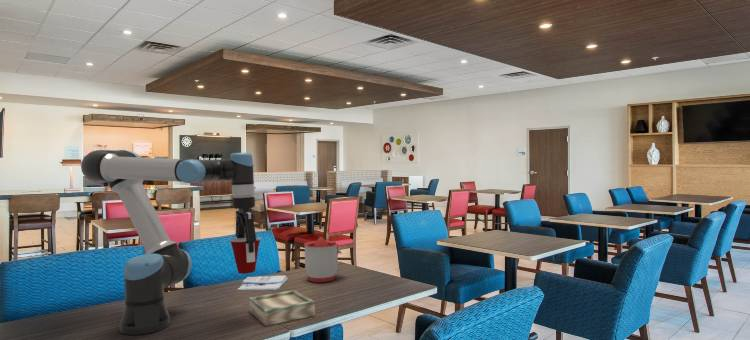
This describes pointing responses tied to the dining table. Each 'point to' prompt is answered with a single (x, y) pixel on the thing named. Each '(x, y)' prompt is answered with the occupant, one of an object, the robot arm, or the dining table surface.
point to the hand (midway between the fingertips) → (246, 259)
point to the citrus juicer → (321, 260)
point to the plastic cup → (244, 255)
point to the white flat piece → (270, 282)
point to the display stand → (281, 307)
